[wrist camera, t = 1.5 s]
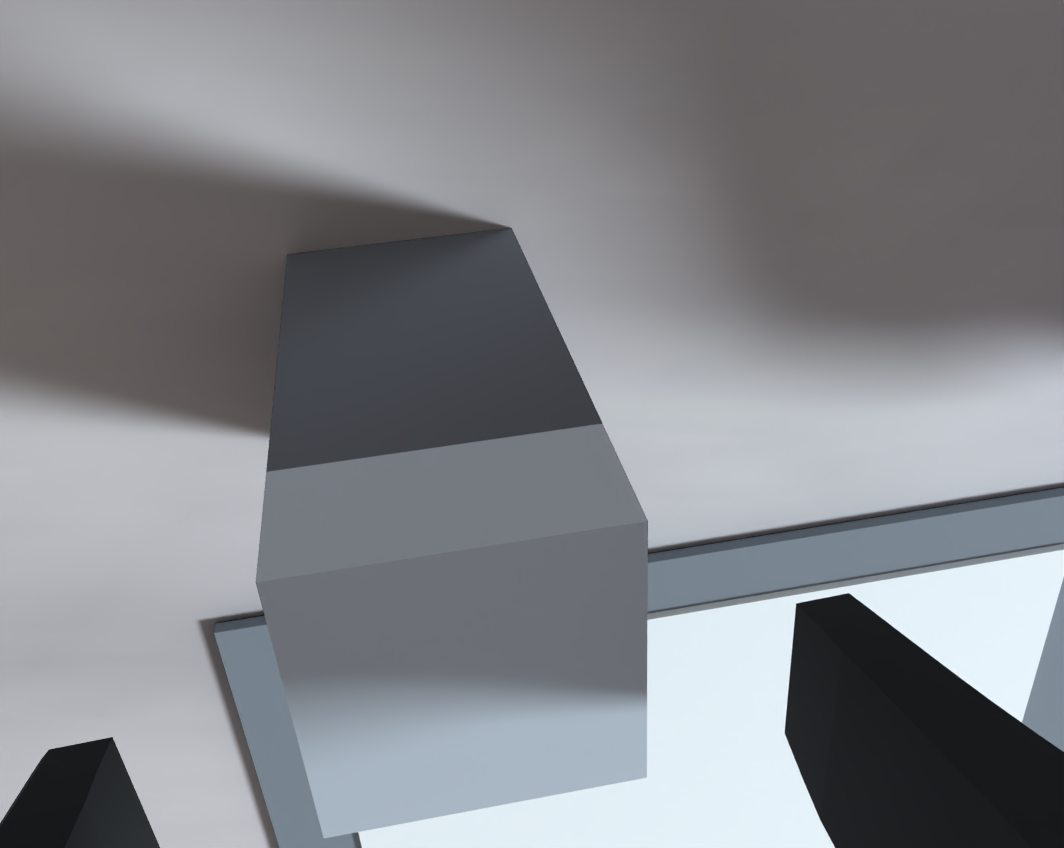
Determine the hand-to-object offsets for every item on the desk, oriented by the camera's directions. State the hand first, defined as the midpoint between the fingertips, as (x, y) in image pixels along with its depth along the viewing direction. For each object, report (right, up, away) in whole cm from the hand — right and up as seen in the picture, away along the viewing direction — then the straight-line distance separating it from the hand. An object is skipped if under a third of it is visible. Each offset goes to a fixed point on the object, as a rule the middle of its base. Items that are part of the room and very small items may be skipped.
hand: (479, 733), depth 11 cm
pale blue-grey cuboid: (-2, +5, +8) cm, 10 cm away
